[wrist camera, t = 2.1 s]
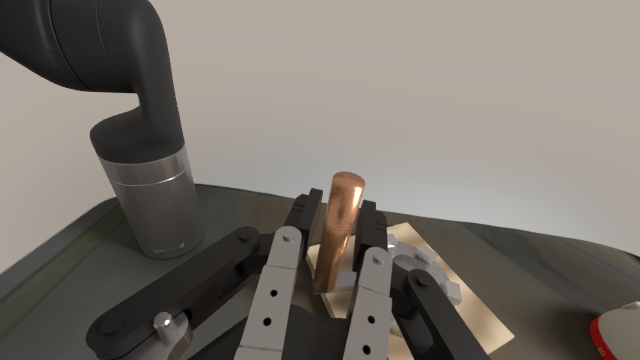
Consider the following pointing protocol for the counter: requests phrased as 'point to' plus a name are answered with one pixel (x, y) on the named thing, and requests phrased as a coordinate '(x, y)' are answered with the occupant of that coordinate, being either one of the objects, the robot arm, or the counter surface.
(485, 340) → the nut base plate
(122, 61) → the robot arm
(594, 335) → the kitchen timer
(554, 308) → the counter surface
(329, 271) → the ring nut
